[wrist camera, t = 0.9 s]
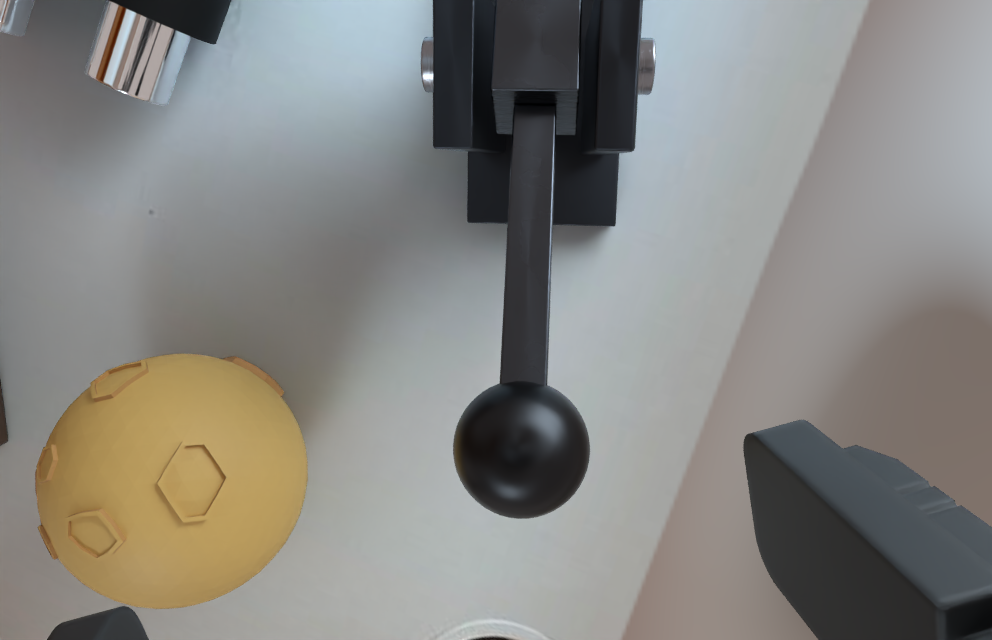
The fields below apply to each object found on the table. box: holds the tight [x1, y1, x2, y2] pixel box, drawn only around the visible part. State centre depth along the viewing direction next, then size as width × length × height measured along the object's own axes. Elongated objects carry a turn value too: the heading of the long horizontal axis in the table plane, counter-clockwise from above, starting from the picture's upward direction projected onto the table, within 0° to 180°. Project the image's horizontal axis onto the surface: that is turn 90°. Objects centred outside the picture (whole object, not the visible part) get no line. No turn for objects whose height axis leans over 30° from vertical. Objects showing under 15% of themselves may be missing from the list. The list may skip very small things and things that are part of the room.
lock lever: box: [453, 0, 590, 519], centre depth 19 cm, size 13×3×3 cm, turn 179°
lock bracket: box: [421, 0, 656, 226], centre depth 24 cm, size 10×6×13 cm, turn 179°
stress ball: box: [35, 354, 308, 609], centre depth 30 cm, size 10×10×10 cm
